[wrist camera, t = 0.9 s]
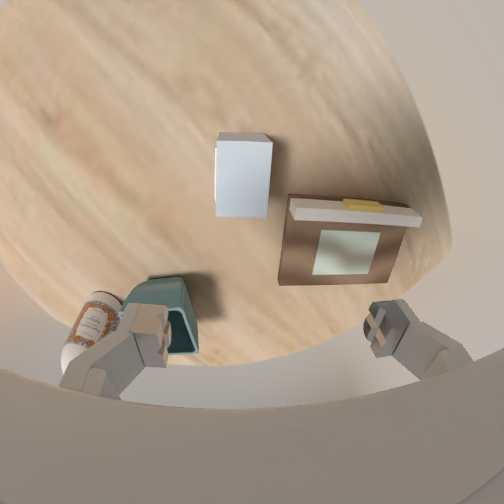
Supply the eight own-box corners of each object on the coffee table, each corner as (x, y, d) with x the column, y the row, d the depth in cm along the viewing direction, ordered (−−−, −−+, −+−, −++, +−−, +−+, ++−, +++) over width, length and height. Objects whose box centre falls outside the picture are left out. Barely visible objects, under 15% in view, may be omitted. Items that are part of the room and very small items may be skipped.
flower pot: (203, 309, 42) (199, 354, 35) (152, 313, 42) (140, 356, 34) (191, 263, 38) (182, 308, 30) (134, 270, 37) (115, 312, 30)
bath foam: (126, 298, 40) (89, 407, 23) (123, 325, 43) (93, 425, 26) (88, 284, 38) (39, 386, 21) (88, 312, 42) (49, 407, 24)
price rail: (291, 193, 32) (296, 202, 29) (412, 204, 33) (424, 213, 31) (289, 209, 33) (294, 220, 30) (408, 217, 34) (419, 227, 32)
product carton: (216, 193, 33) (213, 216, 27) (218, 132, 29) (214, 140, 23) (259, 194, 33) (266, 217, 27) (264, 133, 29) (272, 142, 23)
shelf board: (288, 193, 33) (290, 198, 32) (406, 204, 35) (412, 209, 33) (277, 279, 40) (279, 286, 38) (383, 277, 42) (387, 283, 40)
